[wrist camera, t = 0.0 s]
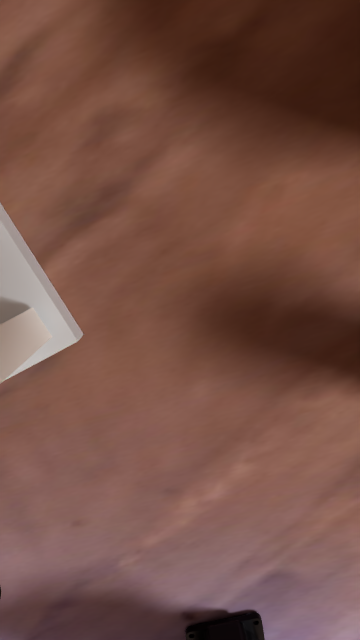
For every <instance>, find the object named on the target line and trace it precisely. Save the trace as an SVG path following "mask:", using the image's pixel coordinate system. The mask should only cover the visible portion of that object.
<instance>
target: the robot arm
mask: <svg viewBox="0 0 360 640" xmlns="http://www.w3.org/2000/svg"><path fill="white" fill-rule="evenodd" d="M0 597H1V587H0ZM185 632H186V640H265V639H264V632H263V625H262V620H261V616H260V615H259V614H258V613H253V614H248V615H243V616H238V617H233V618H228V619H223V620H218V621H214V622H209V623H204V624H199V625H194V626H190V627H188V628H186V631H185Z"/></svg>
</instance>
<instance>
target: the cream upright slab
mask: <svg viewBox="0 0 360 640" xmlns="http://www.w3.org/2000/svg"><path fill="white" fill-rule="evenodd" d="M51 338H52V335H51V334H50V332H49V331H48V329H47V328H46V326H45V325H44V323H43V322H42V320H41V319H40V317H39V316H38V314H37V313H36V311H35V310H34V308H31V309H29V310H27V311H25V312H23V313H21V314H19V315H17V316H16V317H14V318H12V319H10V320H8V321H6V322H4V323H2V324H0V383H2V382H3V381H4V380H5V379H6V378H7V377H8V376H9V375H11V374H12V373H13V372H14V371H15V370H16V369H17V368H18V367H19V366H21V365H22V364H23V363H24V362H25V361H26V360H27V359H28V358H29V357H31V356H32V355H33V354H34V353H35V352H36V351H37V350H38V349H39V348H41V347H42V346H43V345H44V344H45V343H46V342H47V341H48V340H49V339H51Z"/></svg>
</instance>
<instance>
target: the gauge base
mask: <svg viewBox="0 0 360 640" xmlns="http://www.w3.org/2000/svg"><path fill="white" fill-rule="evenodd" d="M31 308H34V310H35V311H36V313H37V314H38V316H39V317H40V319H41V320H42V322H43V323H44V325H45V326H46V328H47V329H48V331H49V332H50V334H51V335H52V338H51V339H49V340H48V341H47V342H46V343H45V344H44V345H43V346H42V347H41V348H39V349H38V350H37V351H36V352H35V353H34V354H33V355H32V356H31V357H29V358H28V359H27V360H26V361H25V362H24V363H23V364H22V365H21V366H19V367H18V368H17V369H16V370H15V371H14V372H13V373H12V374H11V375H9V376H8V377H7V378H6V379H8V378H10V377H12V376H14V375H16V374H17V373H19V372H21V371H23V370H25V369H27V368H29V367H31V366H33V365H34V364H36V363H38V362H40V361H42V360H44V359H46V358H48V357H49V356H51V355H53V354H55V353H57V352H59V351H61V350H63V349H64V348H66V347H68V346H70V345H72V344H74V343H76V342H78V341H79V339H80V338H81V337H82V336H83V335H84V334H83V333H82V331H81V329H80V328H79V326H78V325H77V323H76V322H75V320H74V318H73V317H72V315H71V314H70V312H69V311H68V309H67V307H66V306H65V304H64V303H63V301H62V299H61V298H60V296H59V295H58V293H57V292H56V290H55V288H54V287H53V285H52V284H51V282H50V281H49V279H48V277H47V276H46V274H45V273H44V271H43V269H42V268H41V266H40V265H39V263H38V262H37V260H36V258H35V257H34V255H33V254H32V252H31V251H30V249H29V247H28V246H27V244H26V243H25V241H24V240H23V238H22V236H21V235H20V233H19V232H18V230H17V228H16V227H15V225H14V224H13V222H12V221H11V219H10V217H9V216H8V214H7V213H6V211H5V210H4V208H3V206H2V205H1V203H0V324H2V323H4V322H6V321H8V320H10V319H12V318H14V317H16V316H17V315H19V314H21V313H23V312H25V311H27V310H29V309H31ZM6 379H5V380H6Z"/></svg>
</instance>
